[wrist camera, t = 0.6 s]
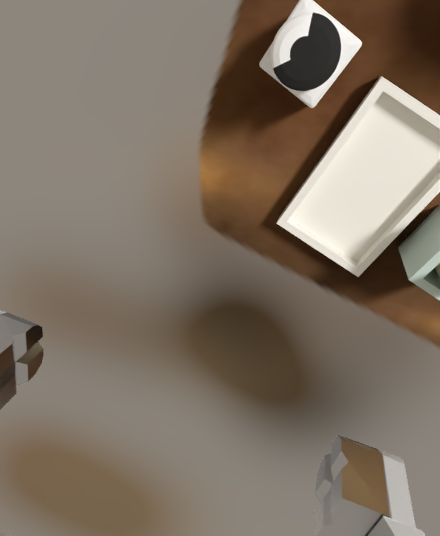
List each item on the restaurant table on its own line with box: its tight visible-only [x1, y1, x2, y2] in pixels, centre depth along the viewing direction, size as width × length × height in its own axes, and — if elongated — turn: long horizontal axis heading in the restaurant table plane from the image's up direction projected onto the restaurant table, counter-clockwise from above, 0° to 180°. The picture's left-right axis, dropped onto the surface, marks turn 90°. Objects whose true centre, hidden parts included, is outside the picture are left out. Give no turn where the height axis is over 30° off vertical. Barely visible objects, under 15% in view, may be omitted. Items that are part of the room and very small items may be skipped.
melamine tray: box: [276, 76, 440, 277], centre depth 47 cm, size 20×13×2 cm, turn 151°
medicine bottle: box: [259, 0, 362, 108], centre depth 38 cm, size 7×7×12 cm
